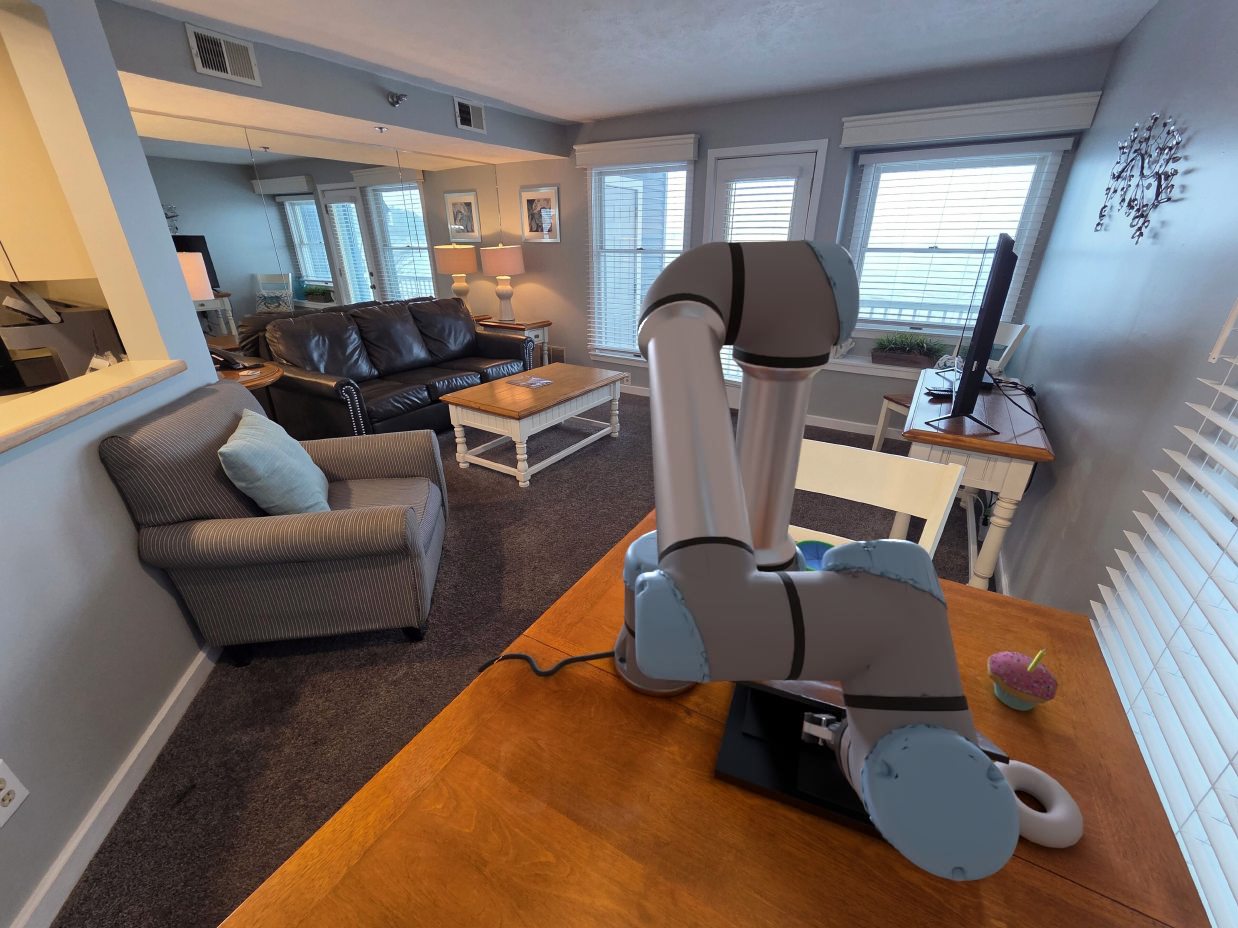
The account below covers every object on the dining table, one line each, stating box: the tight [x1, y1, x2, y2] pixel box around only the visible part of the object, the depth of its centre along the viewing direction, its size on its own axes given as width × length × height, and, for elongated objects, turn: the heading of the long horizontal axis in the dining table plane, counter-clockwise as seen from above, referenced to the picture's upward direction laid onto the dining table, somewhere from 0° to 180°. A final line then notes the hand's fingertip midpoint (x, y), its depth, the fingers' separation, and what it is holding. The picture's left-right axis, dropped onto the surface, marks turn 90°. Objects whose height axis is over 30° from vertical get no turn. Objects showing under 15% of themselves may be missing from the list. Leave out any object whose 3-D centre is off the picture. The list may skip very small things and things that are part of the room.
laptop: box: [713, 683, 890, 844], centre depth 70 cm, size 21×30×2 cm
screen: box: [730, 680, 1011, 765], centre depth 68 cm, size 21×30×1 cm
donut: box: [992, 759, 1085, 849], centre depth 62 cm, size 10×4×10 cm
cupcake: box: [986, 648, 1059, 712], centre depth 75 cm, size 9×8×12 cm
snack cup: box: [795, 539, 836, 571], centre depth 96 cm, size 16×10×10 cm
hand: (849, 728), depth 62 cm, fingers closed
